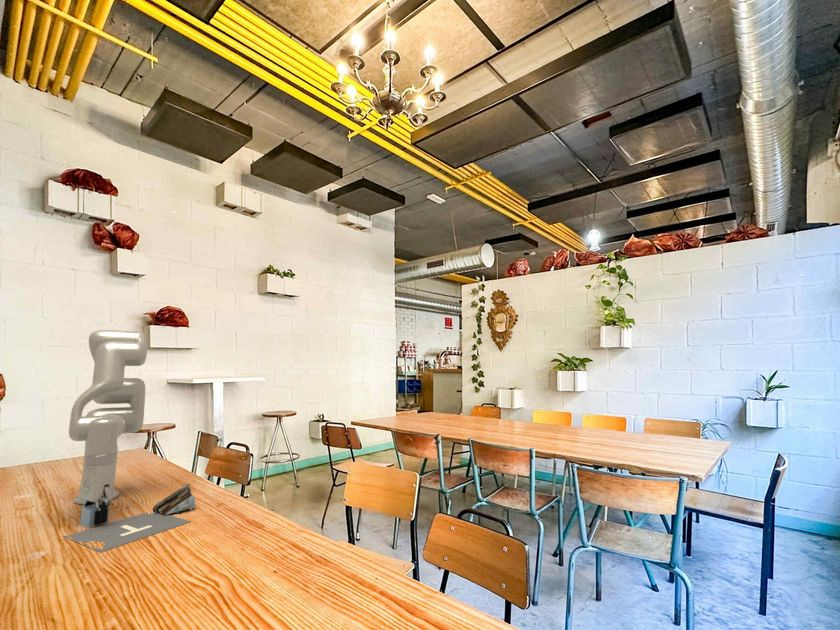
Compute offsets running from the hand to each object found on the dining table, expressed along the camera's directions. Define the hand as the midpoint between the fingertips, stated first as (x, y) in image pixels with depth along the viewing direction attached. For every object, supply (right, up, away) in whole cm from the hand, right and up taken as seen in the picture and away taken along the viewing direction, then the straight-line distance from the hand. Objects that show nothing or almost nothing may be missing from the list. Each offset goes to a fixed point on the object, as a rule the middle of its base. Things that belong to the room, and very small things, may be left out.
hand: (94, 521), depth 124 cm
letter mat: (+14, 0, -4) cm, 14 cm away
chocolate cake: (+19, -2, +11) cm, 21 cm away
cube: (0, -1, 0) cm, 1 cm away
